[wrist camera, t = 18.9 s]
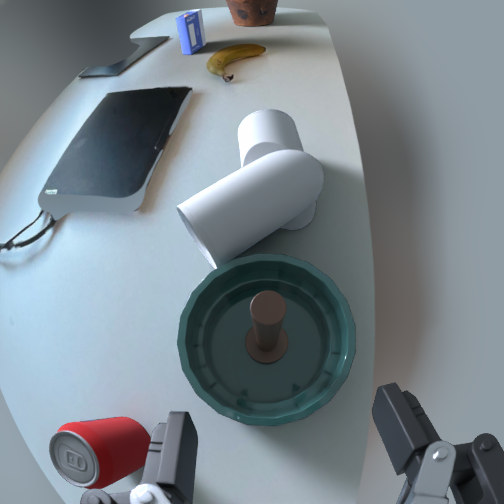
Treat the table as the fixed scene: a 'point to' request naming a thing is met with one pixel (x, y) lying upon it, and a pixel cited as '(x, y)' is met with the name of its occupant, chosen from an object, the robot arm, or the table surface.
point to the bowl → (239, 323)
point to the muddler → (267, 328)
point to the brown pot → (252, 11)
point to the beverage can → (99, 451)
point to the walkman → (191, 31)
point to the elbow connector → (256, 190)
